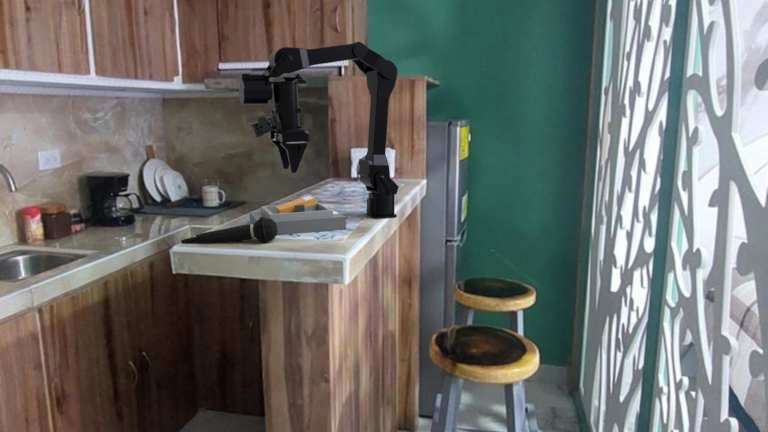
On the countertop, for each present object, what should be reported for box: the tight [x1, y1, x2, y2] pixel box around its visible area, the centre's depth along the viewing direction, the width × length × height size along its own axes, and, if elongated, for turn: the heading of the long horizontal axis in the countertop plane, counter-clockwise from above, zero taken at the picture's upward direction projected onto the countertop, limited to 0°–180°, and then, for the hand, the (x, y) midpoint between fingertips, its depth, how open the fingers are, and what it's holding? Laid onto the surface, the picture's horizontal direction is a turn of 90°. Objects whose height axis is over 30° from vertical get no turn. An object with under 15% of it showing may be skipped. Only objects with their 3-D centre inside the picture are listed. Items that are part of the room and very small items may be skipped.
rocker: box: [274, 194, 319, 213], centre depth 124 cm, size 9×5×2 cm, turn 112°
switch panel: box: [248, 199, 347, 236], centre depth 124 cm, size 20×14×6 cm
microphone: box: [180, 217, 278, 244], centre depth 109 cm, size 6×6×20 cm
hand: (289, 170), depth 125 cm, fingers open, 9 cm apart
